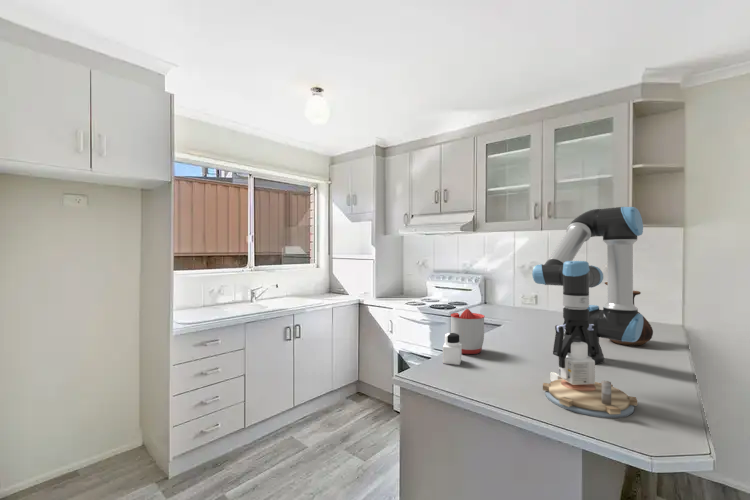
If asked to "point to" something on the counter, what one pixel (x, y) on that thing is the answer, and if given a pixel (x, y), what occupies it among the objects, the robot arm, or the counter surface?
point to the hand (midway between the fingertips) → (576, 376)
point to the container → (579, 364)
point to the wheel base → (586, 411)
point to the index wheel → (590, 396)
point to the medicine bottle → (452, 349)
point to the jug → (646, 330)
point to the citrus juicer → (469, 331)
